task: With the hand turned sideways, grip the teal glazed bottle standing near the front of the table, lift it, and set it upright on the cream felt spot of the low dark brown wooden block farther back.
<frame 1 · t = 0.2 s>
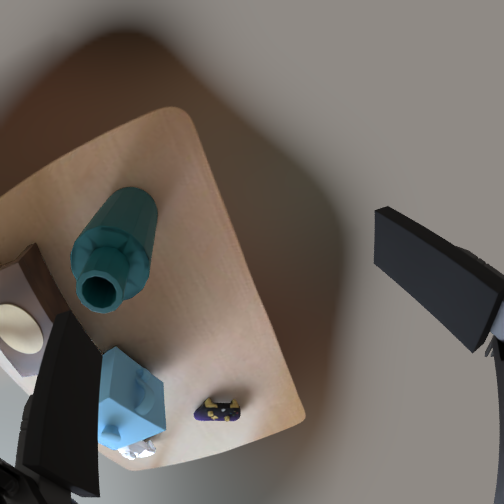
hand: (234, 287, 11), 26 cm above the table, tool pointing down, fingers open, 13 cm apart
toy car: (131, 435, 54), on the table
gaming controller: (217, 405, 54), on the table
teapot: (110, 376, 45), on the table
dark brown wooden block: (30, 306, 35), on the table
bottle: (130, 214, 34), on the table
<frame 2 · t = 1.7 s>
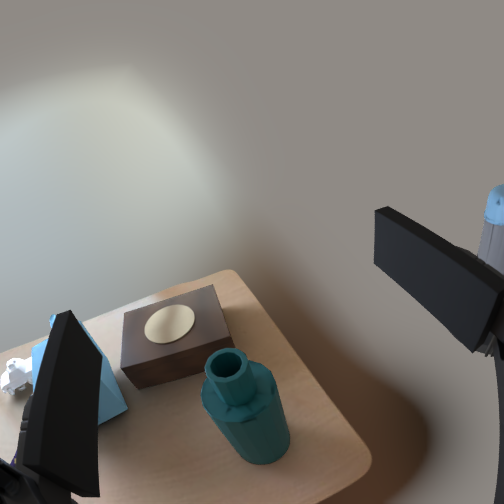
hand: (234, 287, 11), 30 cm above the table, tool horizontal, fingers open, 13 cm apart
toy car: (26, 382, 44), on the table
teapot: (95, 395, 42), on the table
dark brown wooden block: (181, 347, 49), on the table
bottle: (262, 441, 32), on the table
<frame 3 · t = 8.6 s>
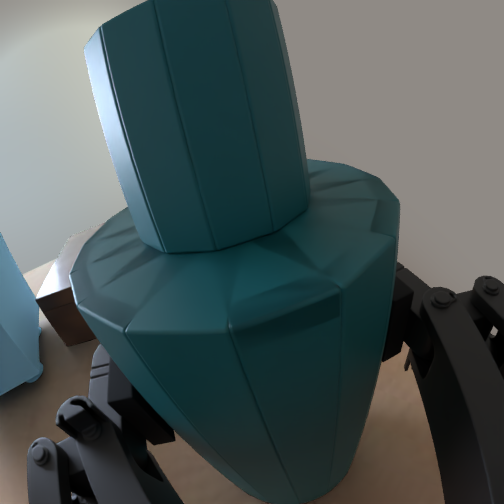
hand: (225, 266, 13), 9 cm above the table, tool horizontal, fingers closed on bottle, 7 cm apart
teapot: (14, 356, 23), on the table
dark brown wooden block: (145, 282, 31), on the table
bottle: (290, 449, 13), on the table, touching gripper
when the fingers open (16 cm above the table, at t = 16.5 s): bottle stays where it is, resting on dark brown wooden block.
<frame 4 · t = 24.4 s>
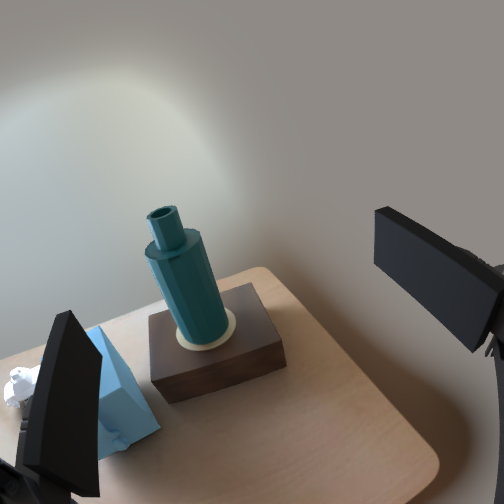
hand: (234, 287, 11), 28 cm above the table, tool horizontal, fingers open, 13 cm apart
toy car: (33, 394, 39), on the table
teapot: (116, 410, 36), on the table
dark brown wooden block: (217, 353, 44), on the table
bottle: (205, 326, 41), point 6 cm above the table, touching dark brown wooden block
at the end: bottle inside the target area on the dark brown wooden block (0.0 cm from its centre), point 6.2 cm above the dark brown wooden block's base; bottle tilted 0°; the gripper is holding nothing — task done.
